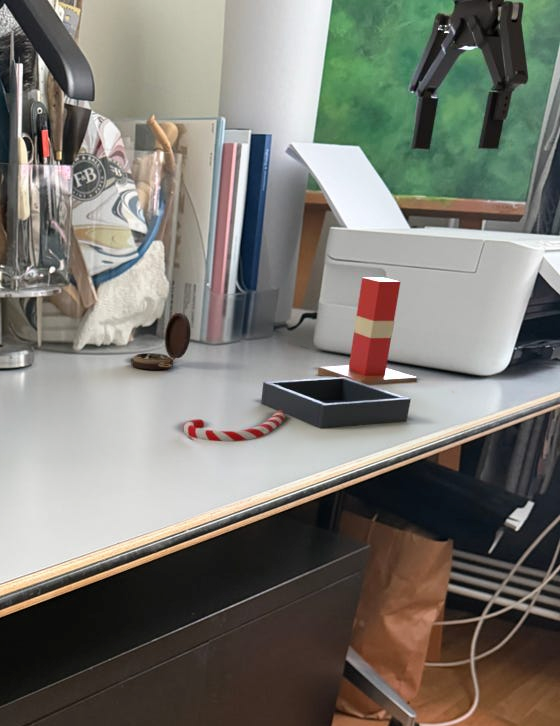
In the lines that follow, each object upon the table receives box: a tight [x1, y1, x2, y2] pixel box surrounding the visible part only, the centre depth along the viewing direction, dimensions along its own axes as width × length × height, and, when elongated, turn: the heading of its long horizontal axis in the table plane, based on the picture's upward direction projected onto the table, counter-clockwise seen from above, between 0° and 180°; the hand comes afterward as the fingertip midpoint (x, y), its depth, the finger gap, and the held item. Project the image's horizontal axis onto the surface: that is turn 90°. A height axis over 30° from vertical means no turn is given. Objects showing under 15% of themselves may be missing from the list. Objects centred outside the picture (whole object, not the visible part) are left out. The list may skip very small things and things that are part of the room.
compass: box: [130, 312, 192, 370], centre depth 132 cm, size 8×8×7 cm
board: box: [317, 364, 418, 386], centre depth 129 cm, size 10×9×1 cm
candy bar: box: [348, 276, 401, 376], centre depth 126 cm, size 3×5×12 cm, turn 11°
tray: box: [260, 377, 412, 430], centre depth 109 cm, size 13×12×3 cm
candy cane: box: [182, 410, 287, 442], centre depth 102 cm, size 8×1×15 cm
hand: (452, 149), depth 130 cm, fingers open, 13 cm apart
